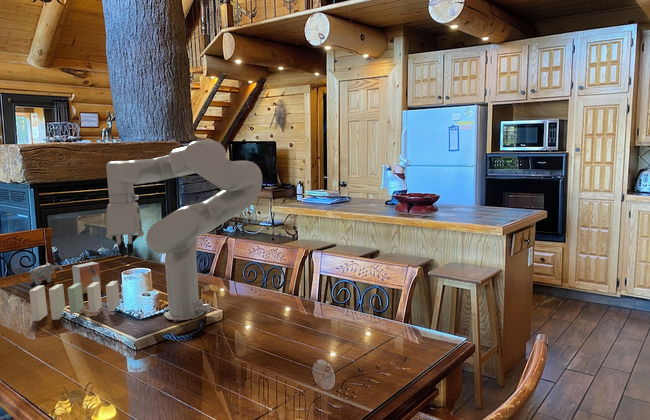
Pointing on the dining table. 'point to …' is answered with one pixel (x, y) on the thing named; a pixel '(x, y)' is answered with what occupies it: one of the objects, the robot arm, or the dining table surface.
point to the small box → (86, 274)
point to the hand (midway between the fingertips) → (126, 255)
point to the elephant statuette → (43, 273)
